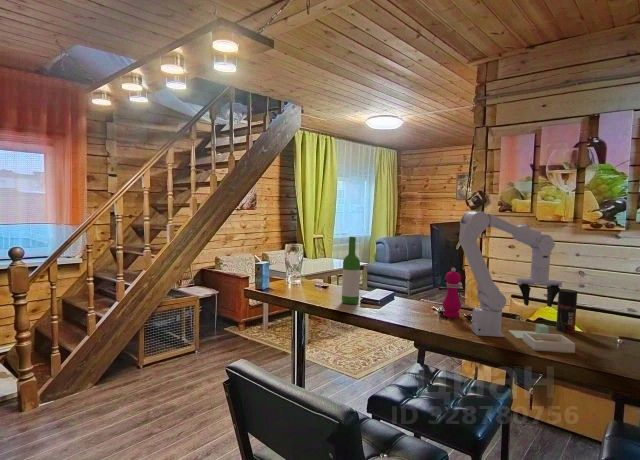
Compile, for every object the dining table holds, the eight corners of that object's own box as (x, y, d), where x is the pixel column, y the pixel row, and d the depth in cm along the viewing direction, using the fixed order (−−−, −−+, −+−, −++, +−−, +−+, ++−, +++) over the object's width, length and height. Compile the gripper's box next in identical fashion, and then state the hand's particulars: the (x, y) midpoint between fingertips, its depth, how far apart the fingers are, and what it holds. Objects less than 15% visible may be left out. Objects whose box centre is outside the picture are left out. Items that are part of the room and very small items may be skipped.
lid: (516, 339, 139) (517, 327, 138) (508, 331, 147) (508, 320, 147) (552, 342, 137) (553, 329, 137) (541, 334, 146) (542, 322, 146)
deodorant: (566, 333, 146) (568, 292, 145) (552, 328, 152) (554, 289, 151) (578, 332, 148) (581, 292, 147) (564, 327, 153) (567, 288, 152)
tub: (534, 350, 127) (534, 341, 126) (523, 341, 136) (523, 332, 135) (574, 353, 125) (575, 343, 125) (560, 343, 134) (561, 334, 134)
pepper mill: (461, 319, 161) (464, 269, 160) (442, 317, 162) (445, 268, 161) (459, 314, 168) (461, 267, 167) (441, 313, 169) (443, 266, 168)
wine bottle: (338, 302, 183) (340, 236, 182) (350, 300, 188) (353, 236, 186) (349, 305, 177) (351, 237, 175) (362, 303, 182) (364, 237, 180)
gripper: (522, 268, 139) (520, 307, 140) (567, 270, 137) (564, 309, 138) (515, 265, 146) (513, 302, 147) (558, 267, 144) (555, 304, 145)
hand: (537, 305), depth 143 cm, fingers open, 7 cm apart
